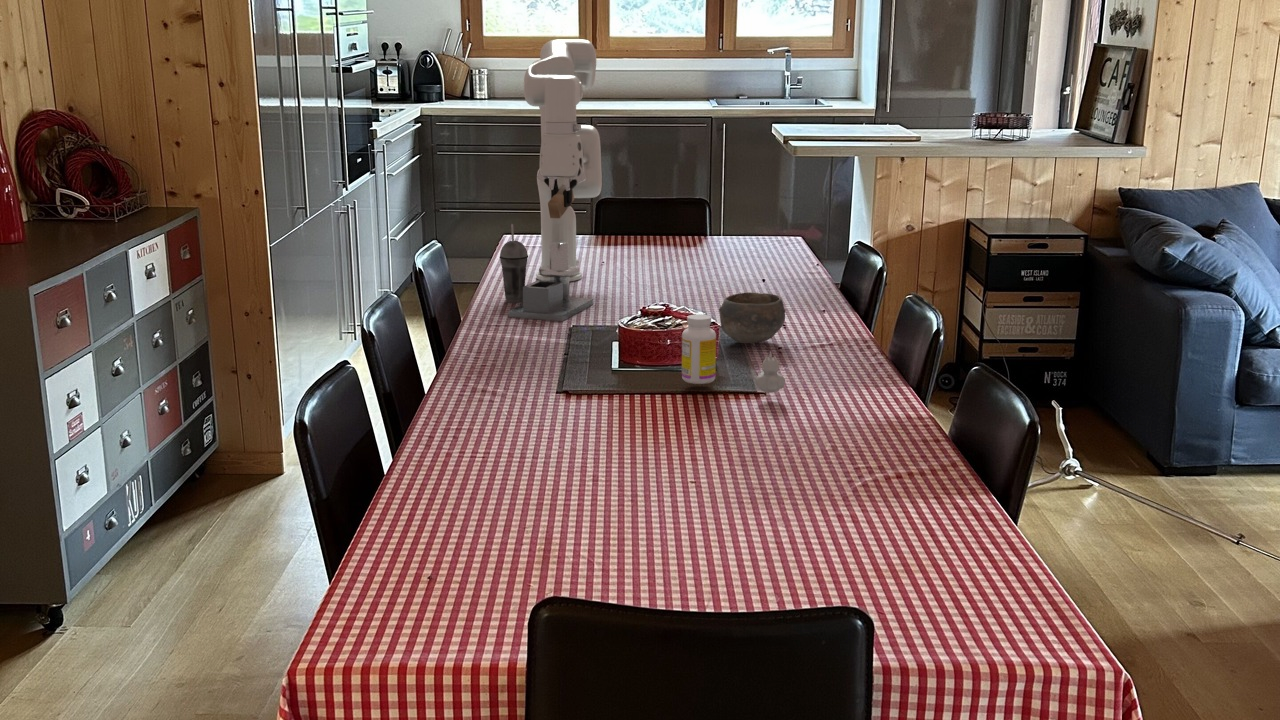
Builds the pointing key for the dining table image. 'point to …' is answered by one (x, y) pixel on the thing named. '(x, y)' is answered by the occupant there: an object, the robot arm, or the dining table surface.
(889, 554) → the dining table surface
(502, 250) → the beverage cup
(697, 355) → the supplement bottle
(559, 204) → the brown wooden block
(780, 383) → the gourd
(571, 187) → the robot arm
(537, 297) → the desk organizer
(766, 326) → the bowl
